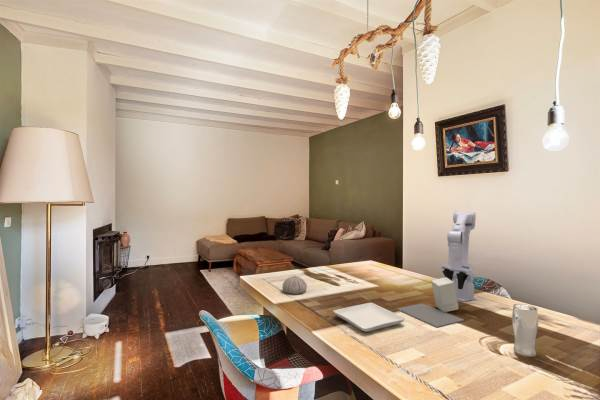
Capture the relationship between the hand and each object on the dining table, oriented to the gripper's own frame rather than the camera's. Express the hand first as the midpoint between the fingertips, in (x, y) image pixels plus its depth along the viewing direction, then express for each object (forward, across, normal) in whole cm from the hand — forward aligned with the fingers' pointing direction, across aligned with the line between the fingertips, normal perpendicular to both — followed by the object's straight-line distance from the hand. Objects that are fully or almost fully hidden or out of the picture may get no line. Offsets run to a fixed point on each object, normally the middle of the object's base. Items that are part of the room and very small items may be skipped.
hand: (455, 287), depth 144 cm
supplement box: (+9, -1, -3) cm, 10 cm away
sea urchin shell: (+11, -55, -54) cm, 78 cm away
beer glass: (+11, +37, -14) cm, 41 cm away
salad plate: (+12, -6, -44) cm, 46 cm away
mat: (+10, 0, -16) cm, 19 cm away
